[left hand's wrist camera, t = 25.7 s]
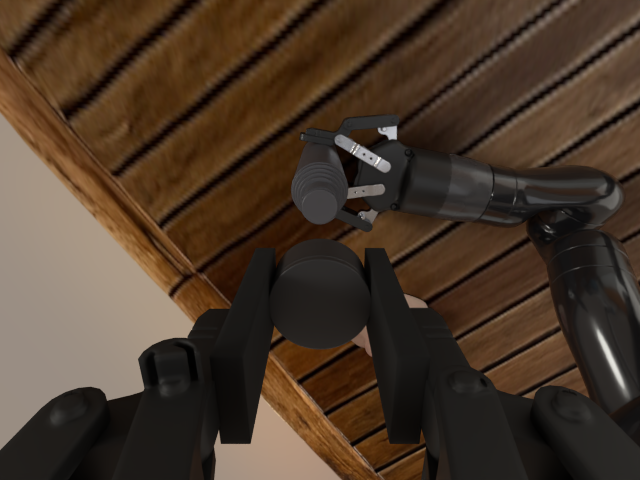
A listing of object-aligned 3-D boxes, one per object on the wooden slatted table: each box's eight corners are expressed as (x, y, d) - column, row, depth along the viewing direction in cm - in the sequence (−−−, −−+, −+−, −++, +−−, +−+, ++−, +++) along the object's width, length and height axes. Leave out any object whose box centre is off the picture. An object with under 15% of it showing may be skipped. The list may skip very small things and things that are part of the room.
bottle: (341, 142, 47) (362, 184, 24) (331, 176, 49) (342, 246, 26) (307, 132, 47) (295, 165, 24) (298, 167, 48) (279, 229, 25)
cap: (305, 220, 14) (303, 240, 12) (383, 268, 14) (393, 293, 13) (258, 292, 15) (249, 320, 13) (332, 333, 16) (334, 364, 14)
